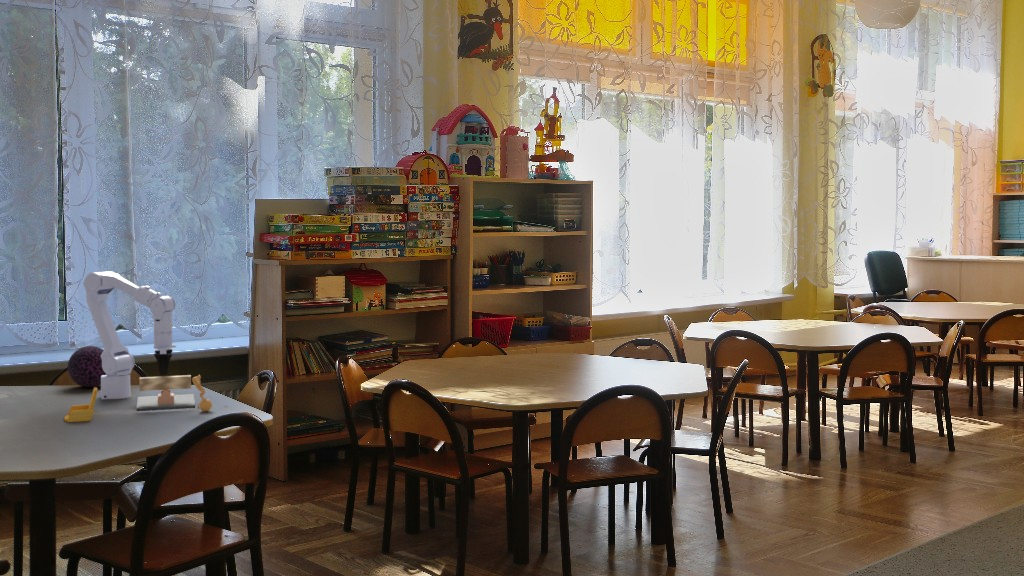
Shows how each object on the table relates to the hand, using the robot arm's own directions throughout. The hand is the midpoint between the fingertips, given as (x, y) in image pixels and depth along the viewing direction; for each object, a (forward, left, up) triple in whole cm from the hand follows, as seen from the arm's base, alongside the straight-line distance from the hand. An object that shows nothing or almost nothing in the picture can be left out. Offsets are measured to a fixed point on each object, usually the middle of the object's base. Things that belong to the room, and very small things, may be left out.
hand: (163, 372), depth 339 cm
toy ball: (-25, +42, -11) cm, 50 cm away
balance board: (+1, -1, -10) cm, 10 cm away
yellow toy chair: (-24, -17, -11) cm, 32 cm away
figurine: (+12, -18, -11) cm, 24 cm away
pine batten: (+1, -4, -5) cm, 6 cm away
